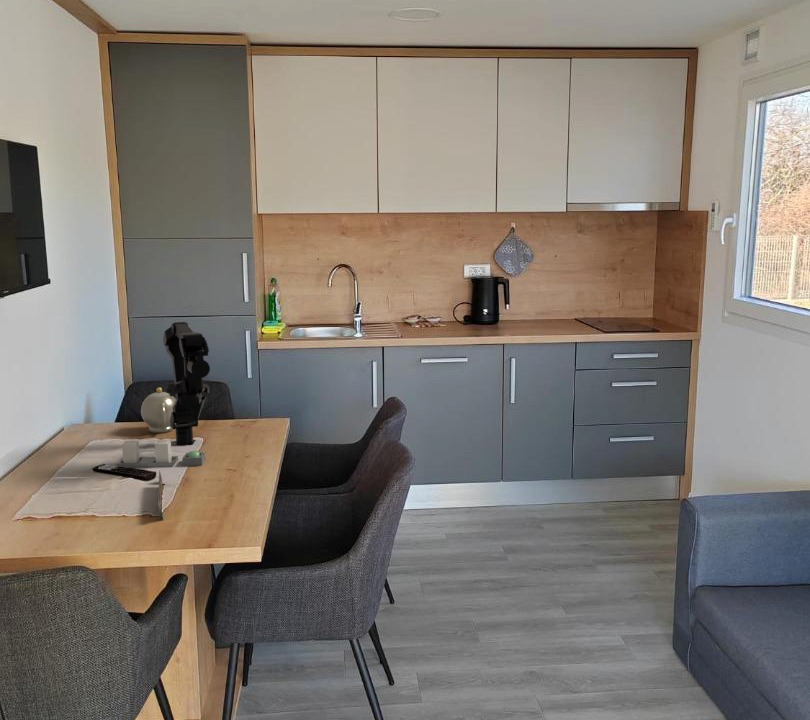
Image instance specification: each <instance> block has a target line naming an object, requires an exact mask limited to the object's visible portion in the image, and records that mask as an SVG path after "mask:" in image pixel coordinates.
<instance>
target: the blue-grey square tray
mask: <svg viewBox="0 0 810 720" xmlns="http://www.w3.org/2000/svg"><path fill="white" fill-rule="evenodd" d="M141 452H154V453H153V454H152V455H151V457H155V449H143V450H141V449H139V453H141ZM122 458H123V456H122V457H121V458H120V459H119V461H120V460H121V459H122Z"/></svg>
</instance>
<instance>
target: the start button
mask: <svg viewBox="0 0 810 720" xmlns="http://www.w3.org/2000/svg"><path fill="white" fill-rule="evenodd" d="M187 453H188V457H200V455H199V453H200V451H199V450H193V451H189V452H187Z"/></svg>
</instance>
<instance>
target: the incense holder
mask: <svg viewBox="0 0 810 720" xmlns="http://www.w3.org/2000/svg"><path fill="white" fill-rule="evenodd" d="M158 475H159V476H158V497H157V499H158V501H157V506H158V520H159V521H164V517H165V509H164V510H163V512H162V499H163V498H162V495H163V490H164V485H165V486H166V483H163V478H162V474H161V470H159V473H158Z"/></svg>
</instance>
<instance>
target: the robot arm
mask: <svg viewBox="0 0 810 720" xmlns="http://www.w3.org/2000/svg"><path fill="white" fill-rule="evenodd" d="M162 339H163V341H162V342H163V347H165V350H166V352H167V354H168V355H169V357H170V358H171V365H172V372H173V380H174V381H173V382H171V383H169V384H168V386H166V393H168V394H169V395H170V396H173V397H174V396H175V399H176V401H175V403H174V405H173V408H172V409H173V412H172V413H171V418H170V426H171V428H172V429H173V430H175V443H173V446H193V445H194V443H195V442H196V441H197V440H196V439H194V432H193V431H194V430H193V428H194V427H195V428H197V427H198V426H199V419H200V415H201V411H202V410H203V407H204V404H205V402H206V400H207V397H206V396H202V393H206V395H207V394H209V393H210V392H211V391H210V390H211V389H210V386H209V385H208V384H207V383H204V379H205V378H206V377H207V376H208V375H209V373H210V371H211V366H210V364H209V363H208V362H207V361H206V360H205V359H204V357H208V356H209V352H210V349H209V346H208V342H207V340H206V337H204V335H203V334H202V333H200V332H194V331H193V330H192V329H191V327H190V326H189V324H188V322H186V321H177V322H173V323H171V326H170V327H169V328H167V329H166V330H165V331H164V333H163V337H162Z"/></svg>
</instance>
